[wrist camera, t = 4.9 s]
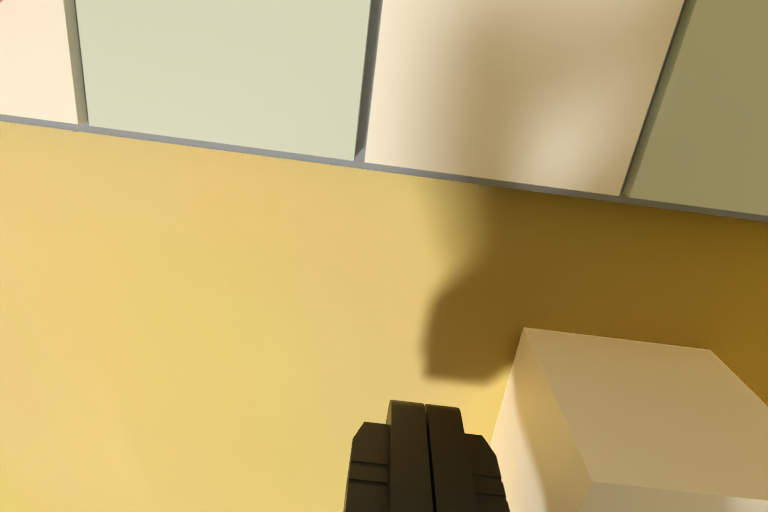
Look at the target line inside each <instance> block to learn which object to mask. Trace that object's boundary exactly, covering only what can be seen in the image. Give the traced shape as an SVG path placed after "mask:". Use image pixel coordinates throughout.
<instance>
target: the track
mask: <svg viewBox="0 0 768 512" xmlns="http://www.w3.org/2000/svg"><path fill="white" fill-rule="evenodd" d="M0 121H4V122H12V123H19V124H27V125H34V126H42V127H50V128H57V129H65V130H72V131H80V132H87V133H95V134H103V135H110V136H118V137H125V138H133V139H140V140H148V141H156V142H163V143H171V144H178V145H186V146H193V147H201V148H208V149H216V150H224V151H231V152H239V153H246V154H254V155H261V156H269V157H277V158H284V159H292V160H299V161H307V162H314V163H322V164H330V165H337V166H345V167H352V168H360V169H367V170H375V171H383V172H390V173H398V174H405V175H413V176H420V177H428V178H436V179H443V180H451V181H458V182H466V183H473V184H481V185H488V186H496V187H504V188H511V189H519V190H526V191H534V192H541V193H549V194H557V195H564V196H572V197H579V198H587V199H594V200H602V201H610V202H617V203H625V204H632V205H640V206H647V207H655V208H663V209H670V210H678V211H685V212H693V213H700V214H708V215H716V216H723V217H731V218H738V219H746V220H753V221H761V222H768V0H3V1H2V2H1V3H0Z"/></svg>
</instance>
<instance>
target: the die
mask: <svg viewBox="0 0 768 512" xmlns="http://www.w3.org/2000/svg"><path fill="white" fill-rule="evenodd" d="M490 447H491V449H492V450H493V452H494V453H495V454H496V457H497V461H498V465H499V469H500V473H501V477H502V478H501V481H502V482H503V485H504V489H505V493H506V501H508V505H509V509H510V512H768V406H767V405H766V404H765V403H764V402H763V401H762V400H761V399H760V398H759V397H758V396H757V395H756V394H755V393H754V392H753V391H752V390H751V389H750V388H749V387H748V386H747V385H746V384H745V383H744V382H743V381H742V380H741V379H740V378H739V377H738V376H737V375H736V374H735V373H734V372H733V371H731V370H730V369H729V368H728V367H727V366H726V365H725V364H724V363H723V362H722V361H721V360H720V359H719V358H718V357H717V356H716V355H715V354H714V353H713V352H712V351H711V350H710V349H701V348H693V347H685V346H676V345H668V344H660V343H651V342H643V341H635V340H626V339H618V338H610V337H601V336H593V335H585V334H576V333H568V332H560V331H552V330H543V329H535V328H527V327H523V330H522V334H521V337H520V341H519V344H518V348H517V351H516V355H515V359H514V362H513V366H512V369H511V373H510V376H509V380H508V383H507V387H506V390H505V394H504V398H503V401H502V405H501V408H500V412H499V415H498V419H497V422H496V426H495V430H494V433H493V437H492V440H491V444H490Z"/></svg>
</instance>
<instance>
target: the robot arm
mask: <svg viewBox="0 0 768 512" xmlns="http://www.w3.org/2000/svg"><path fill="white" fill-rule="evenodd" d="M501 478H502V477H501V473H500V469H499V465H498V461H497V457H496V454H495V453H494V452H493V450H492V449H491V447H490V446H489V445H488V443H487V442H486V440H485V439H484V438H483V436H482V435H474V434H466V433H464V428H463V423H462V417H461V412H460V409H459V408H457V407H448V406H439V405H431V404H425V406H424V404H423V403H415V402H406V401H397V400H390V403H389V408H388V414H387V420H386V424H379V423H371V422H364V423H363V425H362V426H361V428H360V429H359V430H358V432H357V433H356V435H355V436H354V438H353V441H352V448H351V455H350V463H349V470H348V478H347V485H346V493H345V502H344V511H343V512H510V509H509V505H508V501H506V493H505V489H504V485H503V482H502V481H501Z"/></svg>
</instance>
